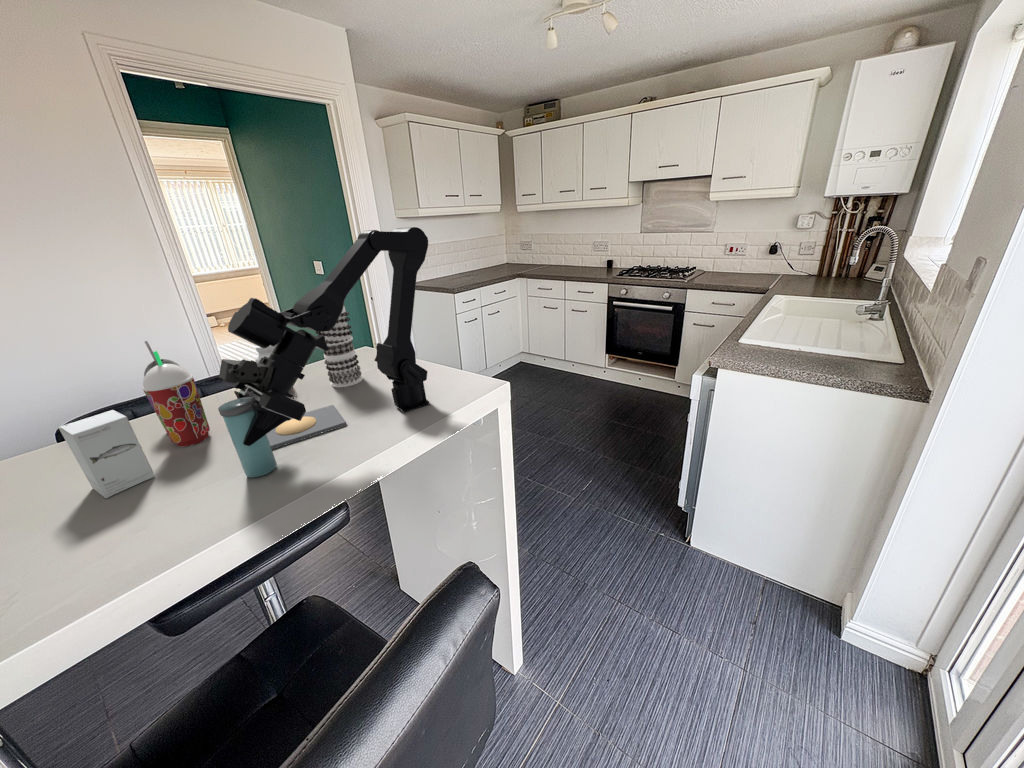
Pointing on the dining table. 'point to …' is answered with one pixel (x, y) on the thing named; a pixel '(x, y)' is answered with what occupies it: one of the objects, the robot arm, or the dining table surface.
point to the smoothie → (176, 403)
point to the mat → (306, 426)
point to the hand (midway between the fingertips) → (240, 440)
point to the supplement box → (108, 452)
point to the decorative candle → (341, 354)
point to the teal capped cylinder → (238, 421)
